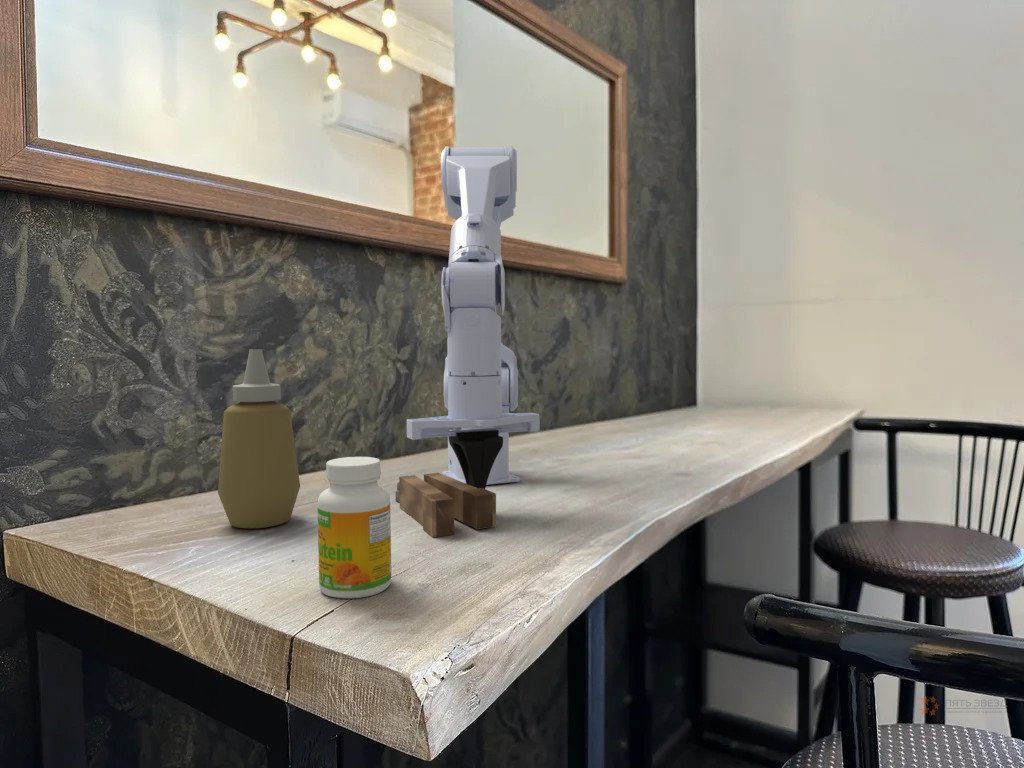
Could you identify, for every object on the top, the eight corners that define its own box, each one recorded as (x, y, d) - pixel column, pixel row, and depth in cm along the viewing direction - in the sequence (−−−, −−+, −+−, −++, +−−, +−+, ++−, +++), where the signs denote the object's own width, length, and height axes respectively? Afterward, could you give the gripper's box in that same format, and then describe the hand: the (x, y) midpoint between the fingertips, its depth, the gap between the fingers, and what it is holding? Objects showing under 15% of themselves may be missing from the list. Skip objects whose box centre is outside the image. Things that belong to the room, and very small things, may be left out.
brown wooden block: (385, 498, 81) (385, 469, 81) (421, 495, 83) (420, 466, 82) (432, 537, 65) (431, 501, 65) (475, 531, 67) (474, 496, 66)
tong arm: (393, 497, 81) (392, 469, 81) (425, 493, 83) (425, 466, 83) (458, 532, 66) (458, 498, 66) (496, 525, 68) (495, 493, 68)
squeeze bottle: (274, 535, 66) (269, 349, 65) (200, 531, 67) (194, 350, 66) (315, 514, 74) (311, 348, 72) (248, 511, 75) (243, 349, 74)
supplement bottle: (303, 592, 51) (300, 463, 50) (352, 571, 55) (349, 453, 55) (359, 605, 48) (357, 469, 48) (405, 581, 53) (403, 458, 52)
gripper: (420, 378, 65) (422, 517, 66) (552, 375, 71) (553, 502, 72) (400, 376, 72) (402, 502, 73) (523, 372, 78) (524, 489, 79)
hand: (475, 501), depth 73 cm, fingers closed
